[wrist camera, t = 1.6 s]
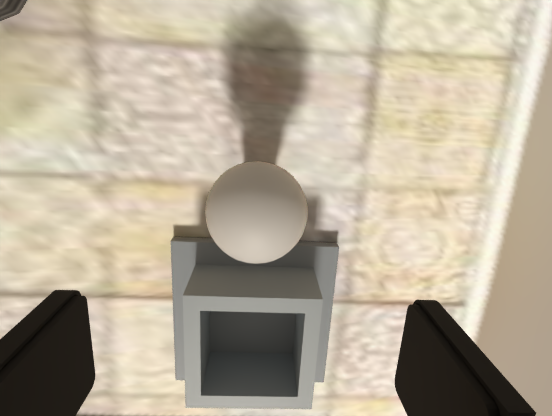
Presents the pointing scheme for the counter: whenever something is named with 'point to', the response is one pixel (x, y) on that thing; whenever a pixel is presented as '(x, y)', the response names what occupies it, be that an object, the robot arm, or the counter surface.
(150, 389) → the counter surface
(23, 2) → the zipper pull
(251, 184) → the lightbulb
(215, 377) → the socket holder
